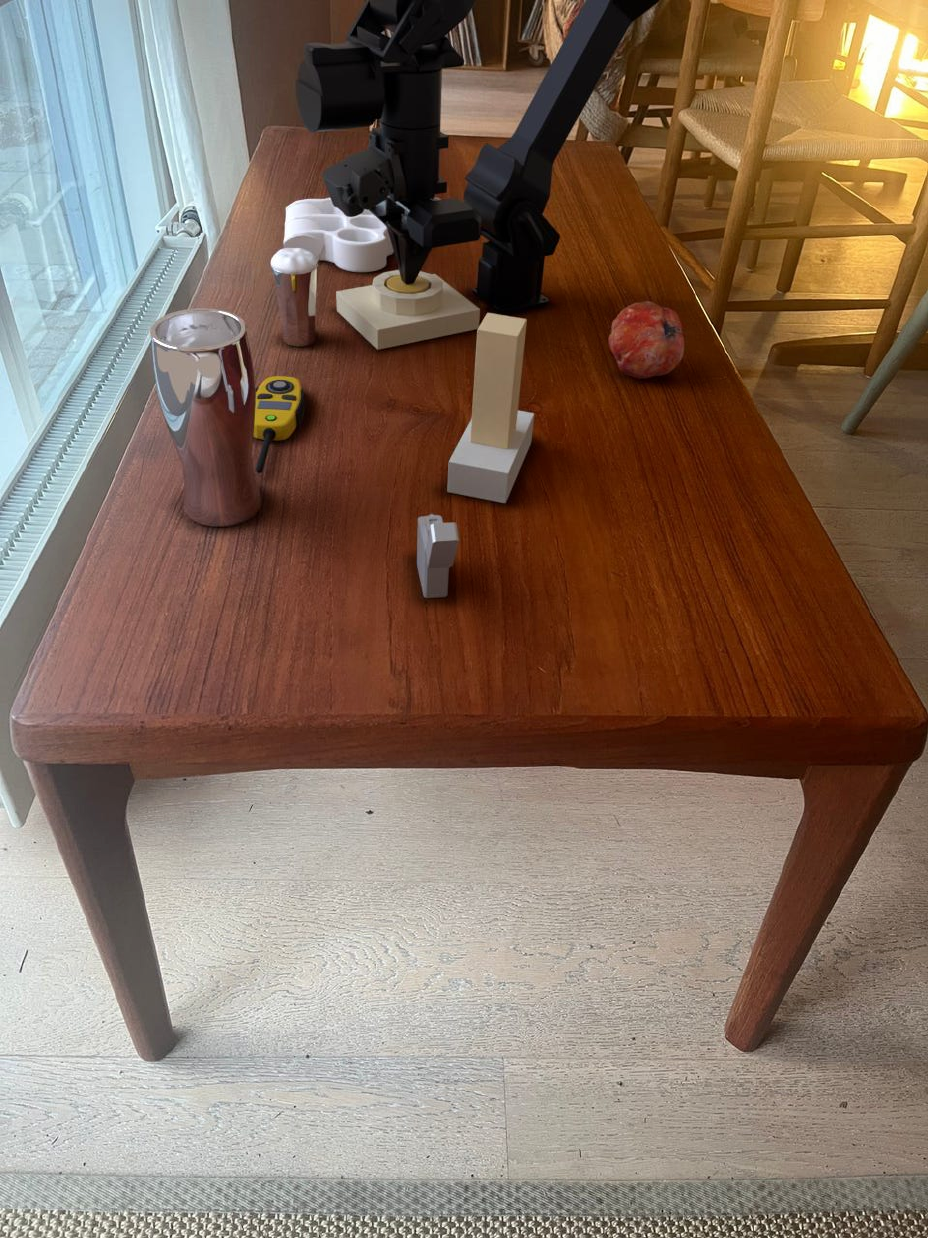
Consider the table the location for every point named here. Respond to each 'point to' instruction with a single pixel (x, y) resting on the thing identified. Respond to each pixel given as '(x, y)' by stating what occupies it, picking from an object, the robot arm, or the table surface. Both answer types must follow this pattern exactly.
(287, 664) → the table surface
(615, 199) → the table surface
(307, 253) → the milkshake
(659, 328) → the pomegranate
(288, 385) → the remote control
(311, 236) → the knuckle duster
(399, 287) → the bell button
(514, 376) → the stamp
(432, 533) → the lighter
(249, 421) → the beer glass
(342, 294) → the bell stand
